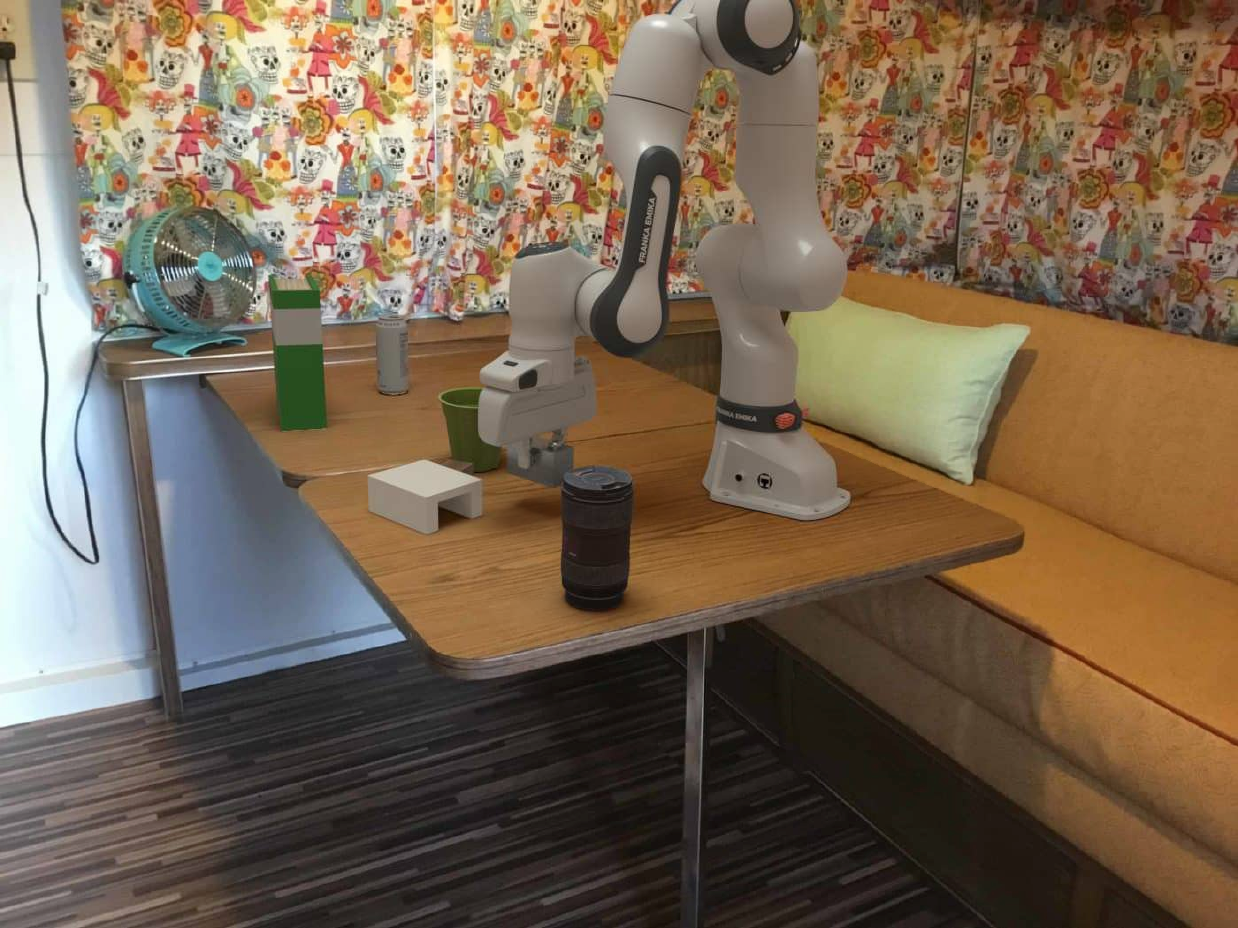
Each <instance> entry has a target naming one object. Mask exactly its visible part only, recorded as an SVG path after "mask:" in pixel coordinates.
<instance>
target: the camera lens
mask: <svg viewBox="0 0 1238 928" xmlns="http://www.w3.org/2000/svg"><path fill="white" fill-rule="evenodd" d="M560 487H561V489H560V516H561V518H560V520H561V523H562V524H561V525H562V526H561V528H562V529H561V531H562V533H561V553H560V575H561V586H562V587H563V589H564V596H565V597H564V598H565V600H566V601H567V603H568V604H570V605H571V606H573V607H575V608H579V609H582V610H587V611H606V610H611V609H613V608H616V607H618V606H620V605H621V604H622V602H623V601H624V593H625V591H626V590H627V588H628V584H629V582H628V581H629V576H630V567H631V566H630V564H631V554H630V552H631V551H630V550H631V549H630V548H631V532H632V531H631V527H632V523H633V517H634V516H633V514H634V511H633V510H634V494H635V493H634V492H635V489H634V484H633V478H632V475H631V474H630V473H629V472H627V471H625V470H624V469H622V468H618V467H614V466H607V465H587V466H586V465H585V466H579V467H575V468H573V469H572V470H570V471H568V472H567V473H565V475H564V478H563V483H562V486H560Z"/></svg>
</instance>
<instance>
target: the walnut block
mask: <svg viewBox="0 0 1238 928" xmlns="http://www.w3.org/2000/svg"><path fill="white" fill-rule="evenodd" d="M440 465H442V466H445V467H448V468H450V469H453V470H456V471H459V472H462V473H465V474H468V475H471V476H473V477H474V472H473V463H468V462H462V461H456V460H452V459H448V460H446V461H444V462H442V463H441V464H440Z"/></svg>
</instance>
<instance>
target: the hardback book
mask: <svg viewBox="0 0 1238 928" xmlns="http://www.w3.org/2000/svg"><path fill="white" fill-rule="evenodd" d="M305 277H306V278H275V275H274V274H267V278H268V290H269V291H268V293H269V307H270V308H269V309H270V320H271V321H270V324H271V325H270V326H271V335H272V340H271V341H272V350H273V351H272V353H273V366H274V369H273V370H274V380H275V395H276V408H277V407H278V408H277V414H278V413H279V414H278V418H280V419H279V424H280V423H281V425H280V428H281V429H282V430H281V432H282V431H291V430H292V431H293V430H308V429H309V430H310V429H322V428H327V429H328V422H327V402H326V400H327V399H326V386H325V385H326V381H325V368H324V367H325V364H324V344H323V342H324V341H323V326H322V310H321V309H322V307H321V306H322V304H321V290H320V288H319V286H318V284H317V282H316V280H315V278H314V277H313V274H312V273H311V274H305Z"/></svg>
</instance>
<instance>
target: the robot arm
mask: <svg viewBox="0 0 1238 928" xmlns="http://www.w3.org/2000/svg"><path fill="white" fill-rule="evenodd" d="M799 15H800V14H799V10H798V6H797V2H796V0H675V1H674V2H673V4H672V5H671V6H670V9H668V11H667V12H666V13H654V14H650V15H645V16H644V17H642V18H640V19H638V20H637V21H636V22H635V23H634V24H633V26H632V28H631V30H630V32H629V34H628V36H627V38H626V41H625V42H624V45H623V48H622V51H621V53H620V56H619V59H618V61H617V65H616V68H615V72H614V74H613V75H614V76H613V79H612V82H611V85H610V89H609V93H608V99H607V102H606V103H607V104H606V106H605V112H604V118H603V130H602V131H603V132H602V148H603V151H604V153H605V155H606V158H607V159H608V161H609V163H610V164H611V166H612V167H613V168H614V169H615V171H616V173H617V175H618V177H619V178H620V181H621V182H622V185H623V188H624V193H625V198H626V212H625V218H624V225H623V230H622V237H621V242H620V243H621V244H620V248H619V254H618V261H617V266H616V268H613V267H611V266H607V265H605V264H602V263H599V262H597V261H595V260H592V259H591V258H588V257H587V256H585V255H584V254H581V253H580V252H578V251H577V250H576V249H574V248H573V247H572V246H571V245H570V244H569V243H567V242H563V241H544V242H543V241H542V242H538V243H534V244H530V245H527V246H525V247H523V248H521V249H520V250H519V251H518V252H517V253H515V255H514V257H513V259H512V263H511V268H510V276H509V288H508V315H509V318H510V323H511V328H510V332H509V333H510V334H509V337H508V350H506V351H504V352H503V353H502V354H501V355H500V356H498V357H497V358H496V359H494V360H493V361H491V362H490V363H487V364H486V365H485V366H483V367H482V368H481V369H480V371H479V382H480V384H482V385H485V386H484V387H482V388H483V390H482V391H481V394H480V397H479V406H478V432H479V436H480V438H481V439H482V440H483V442H485V443H487V444H490V445H494V446H497V447H502V448H503V447H505V446H507V445H508V444H512V445H513V447H514V449H515V451H516V452H517V454H518V465H519V467H521V468H524V469H527V468H530V467H533V466H534V465H535V462H534V460H535V455H533V454H530V453H529V450H528V448H527V446H528V445H530V438H532V437H535V436H538V437H540V436H542V435H545V434H549V433H552V436H551V438H550V440H560V441H561V442H562V444H565V441H566V438H567V437H568V435H569V427H571V426H575V425H579V424H581V423H585V422H589V421H592V420H593V419H594V418H595V416H596V413H597V412H598V409H597V408H598V406H597V403H598V400H597V387H596V386H597V385H596V380H595V376H594V374H593V372H594V370H593V369H594V368H593V363H592V362H591V360H590V359H589V358H587V357H586V356H584V355H582V356H581V355H580V356H577V357H575V346H576V345H575V341H576V338H578V337H582V336H588V337H590V338H591V339H592V340H594V341H596V342H597V343H598V344H599V345H600V346H601V347H602V348H603V349H604V350H606V351H607V352H609V353H610V354H611V355H613V356H615V357H617V358H618V357H619V358H623V359H624V358H625V359H633V358H639V357H641V356H643V355H645V354H647V353H649V352H650V351H652V350H653V349H654V348H656V347H657V346H658V345H659V344H660V343H661V341H662V340H663V338H664V336H665V334H666V332H667V330H668V327H669V324H670V314H671V311H670V302H669V296H668V294H669V293H668V281H667V280H668V272H669V265H670V257H671V252H672V247H673V240H674V239H673V238H674V234H675V229H676V228H675V227H676V222H677V216H678V209H679V202H680V196H681V185H682V173H683V172H682V171H683V170H682V169H683V161H684V160H683V159H684V153H685V149H686V143H687V138H688V133H689V129H690V124H691V120H692V115H693V111H694V108H695V103H696V98H697V97H696V96H697V91H699V88H700V85H701V83H702V81H703V79H704V78H705V76H706V75H707V73H708V72H709V71H710V70H717V71H731V73H732V74H733V76H734V79H735V82H736V85H737V89H738V106H737V120H736V123H737V124H736V133H735V134H736V136H735V154H734V157H735V158H734V181H735V184H736V187H737V189H738V190H739V191H740V192H741V194H742V195H743V196H744V197H745V199H747V202H748V204H749V206H750V208H751V211H752V215H753V218H754V223H755V224H751V223H745V222H739V223H732V224H731V223H729V224H725V225H719V226H715V227H712V228H711V229H709V230H708V231H707V232H706V233H705V234H704V236H703V237H702V238H701V240H700V242H699V244H698V245H697V248H696V251H695V260H694V261H695V262H694V263H695V269H696V272H697V275H698V277H699V279H700V281H701V282H702V284H703V285H704V286H705V288H706V289H707V291H708V293H709V295H710V297H711V299H712V303H713V306H714V310H715V312H716V313H715V314H716V316H717V320H718V324H719V330H720V331H719V332H720V337H721V346H722V347H721V349H722V350H721V374H720V389H719V393H718V394H717V395H716V401H715V402H716V404H715V412H714V413H715V415H714V417H715V418H714V419H715V421H714V422H715V427H716V429H715V435H714V440H713V446H712V450H711V455H710V458H709V462H708V465H707V468H706V471H705V474H704V476H703V479H702V485H703V487H704V489H706V490H707V491H708V492H709V498H710V500H712V501H714V502H717V503H722V504H727V505H732V506H736V507H741V508H745V509H750V510H755V511H758V512H759V511H760V512H764V513H768V514H772V515H777V516H781V517H787V518H791V519H795V520H801V521H811V520H812V521H813V520H820V519H825V518H827V517H830V516H833V515H835V514H837V513H840V512H841V511H842V510H845V509H846V508H847V507H848V506H849V505H850V503H851V493H850V491H848V490H846V489H843V488H841V487H838V476H837V467H836V462H835V459H834V457H832V456H831V454H829V453H828V451H827V450H825V449H824V448H823V447H822V445H820V443H818V442H817V440H816V439H815V438H814V437H813V436H812V435H811V434H810V433H809V432H808V431H807V430H806V429H805V428H804V427H803V424H804V423H803V418H804V417H806V416H809V415H810V413H808V412H809V410H810V407H806V408H803V409H801V408H800V406H799V405H798V402H797V400H796V398H795V395H796V386H797V385H796V384H797V374H798V364H799V363H798V362H799V349H798V345H797V344H796V342H795V340H794V338H793V337H792V336H791V334H789V332H788V331H787V328H786V327H785V324H784V321H783V320H782V315H781V311H780V310H783V311H787V312H792V313H807V312H808V313H811V312H821V311H825V310H827V309H828V308H831V306H833V305H834V304H835V303H836V302H837V300H839V298H840V296H841V295H842V293H843V291H844V289H845V287H846V283H847V279H848V278H847V277H848V263H847V259H846V255H845V254H844V251H843V250H842V248H841V247H840V245H838V244H837V243H836V241H835V240H834V239H833V238H832V235H831V234H830V232H829V231H828V228H827V226H826V223H825V221H824V218H823V214H822V212H821V208H820V204H819V200H818V199H819V198H818V193H817V184H816V183H817V182H816V171H817V170H816V169H817V167H816V165H817V145H818V132H819V126H818V125H819V115H820V114H819V113H820V88H819V87H820V86H819V85H820V84H819V71H818V62H817V57H816V55H815V54H816V53H815V52H814V50H813V48H812V47H811V46H810V45H809V44H807V43H806V42H805V41H803V40H802V30H801V27H800V16H799Z"/></svg>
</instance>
